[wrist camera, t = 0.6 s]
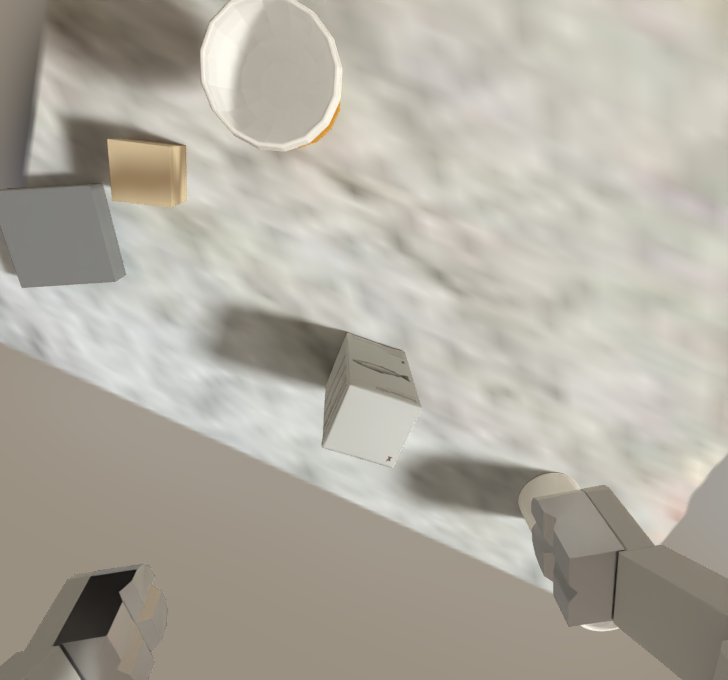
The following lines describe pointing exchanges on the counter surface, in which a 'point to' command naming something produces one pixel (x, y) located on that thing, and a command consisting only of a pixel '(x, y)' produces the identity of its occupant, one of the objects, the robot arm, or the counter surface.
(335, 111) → the cup
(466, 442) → the counter surface
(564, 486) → the cup
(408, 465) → the counter surface
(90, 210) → the plate
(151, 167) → the maple cube
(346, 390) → the supplement box
